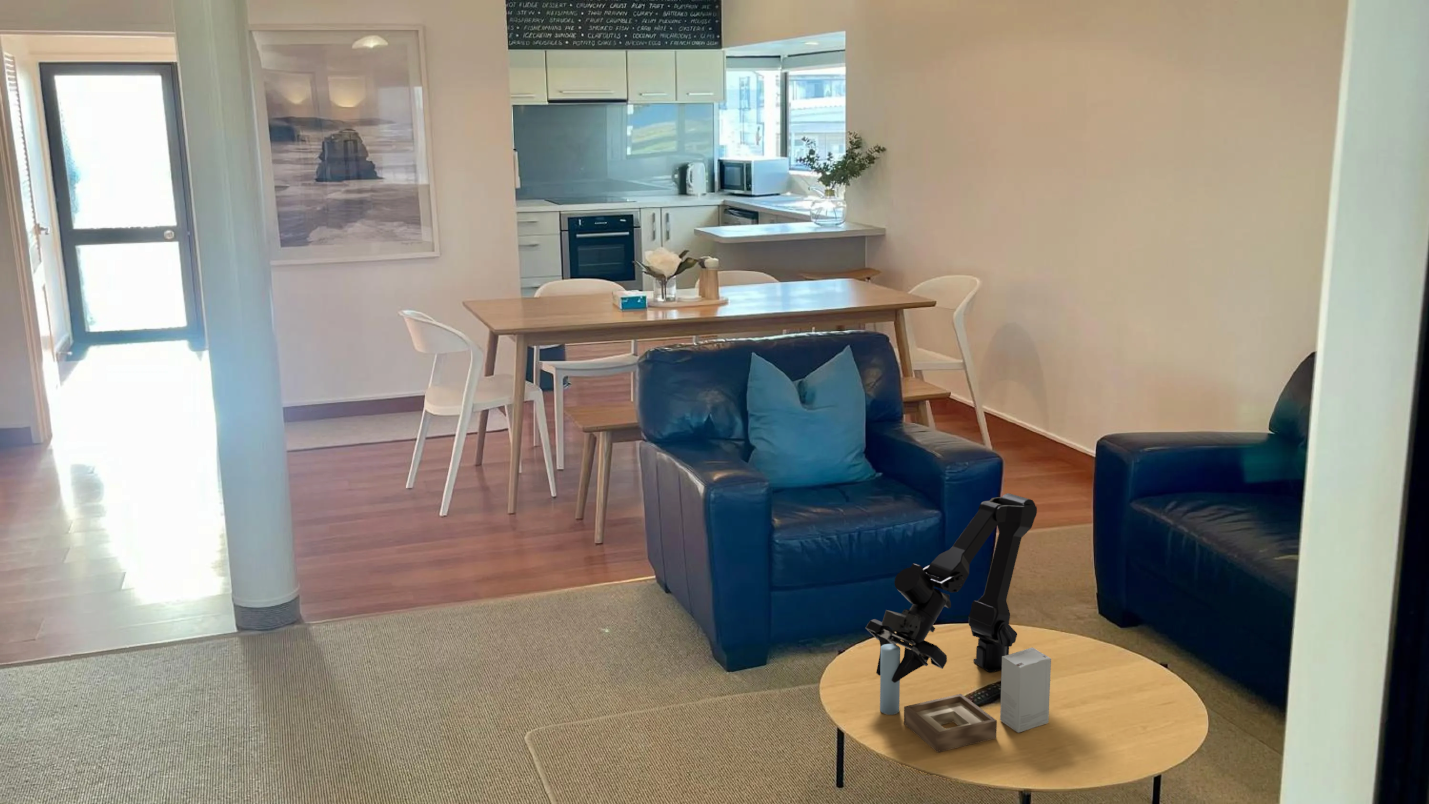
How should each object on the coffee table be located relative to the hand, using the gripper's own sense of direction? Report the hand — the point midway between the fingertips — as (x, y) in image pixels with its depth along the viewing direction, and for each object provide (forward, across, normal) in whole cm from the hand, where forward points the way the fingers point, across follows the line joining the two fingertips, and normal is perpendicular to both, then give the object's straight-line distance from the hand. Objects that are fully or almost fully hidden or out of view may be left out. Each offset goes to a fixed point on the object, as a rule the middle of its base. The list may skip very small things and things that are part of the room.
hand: (885, 678), depth 243 cm
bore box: (+2, +14, +8) cm, 16 cm away
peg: (+4, 0, +6) cm, 8 cm away
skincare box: (-7, +21, +18) cm, 29 cm away
